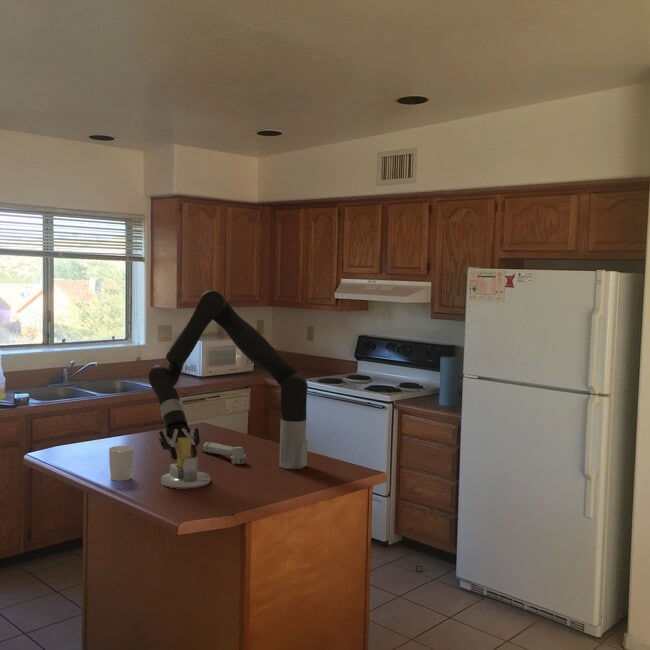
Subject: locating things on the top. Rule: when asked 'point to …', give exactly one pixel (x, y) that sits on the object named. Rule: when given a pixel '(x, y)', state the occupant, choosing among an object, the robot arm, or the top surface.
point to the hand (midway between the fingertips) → (185, 457)
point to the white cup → (121, 462)
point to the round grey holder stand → (185, 476)
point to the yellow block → (182, 450)
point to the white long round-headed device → (225, 451)
